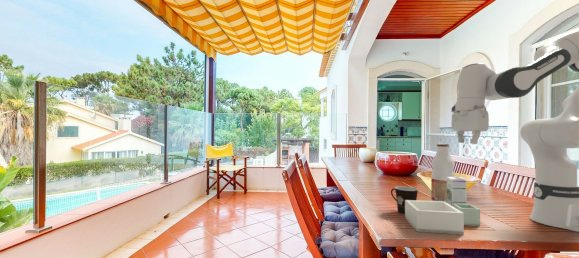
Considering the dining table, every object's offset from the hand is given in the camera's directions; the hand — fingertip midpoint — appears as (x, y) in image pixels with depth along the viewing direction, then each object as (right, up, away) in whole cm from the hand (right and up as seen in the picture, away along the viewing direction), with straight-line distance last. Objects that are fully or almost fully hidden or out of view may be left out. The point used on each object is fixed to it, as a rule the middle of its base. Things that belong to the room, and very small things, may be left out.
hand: (467, 143), depth 101 cm
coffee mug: (-19, -29, +11) cm, 37 cm away
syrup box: (+2, -30, +10) cm, 31 cm away
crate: (-16, -29, -5) cm, 34 cm away
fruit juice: (+3, -30, +21) cm, 36 cm away
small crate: (-1, -29, -2) cm, 29 cm away
